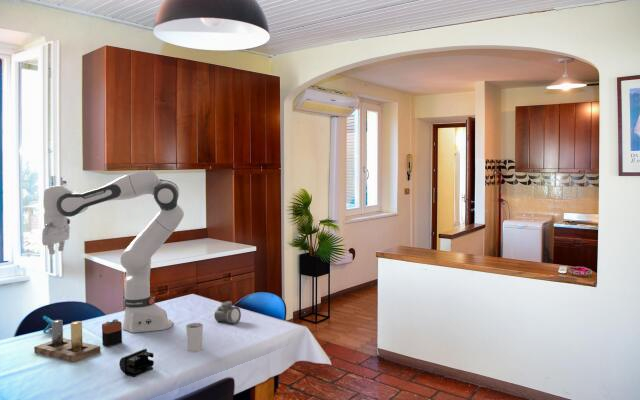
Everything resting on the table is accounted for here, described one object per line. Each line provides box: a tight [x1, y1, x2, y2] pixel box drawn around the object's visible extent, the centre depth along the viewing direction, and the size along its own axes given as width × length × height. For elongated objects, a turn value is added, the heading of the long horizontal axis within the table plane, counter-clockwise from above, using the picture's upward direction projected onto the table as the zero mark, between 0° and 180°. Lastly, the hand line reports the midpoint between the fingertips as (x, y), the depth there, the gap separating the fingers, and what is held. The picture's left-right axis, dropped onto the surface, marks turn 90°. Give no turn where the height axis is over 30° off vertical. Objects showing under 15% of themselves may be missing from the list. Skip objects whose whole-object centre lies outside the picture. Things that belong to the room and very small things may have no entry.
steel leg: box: [51, 319, 64, 348], centre depth 203 cm, size 4×4×12 cm
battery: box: [101, 318, 123, 348], centre depth 210 cm, size 4×7×10 cm, turn 142°
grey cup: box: [185, 322, 204, 353], centre depth 203 cm, size 7×7×10 cm
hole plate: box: [33, 337, 101, 363], centre depth 200 cm, size 24×12×2 cm, turn 63°
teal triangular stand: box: [42, 315, 54, 333], centre depth 228 cm, size 11×6×10 cm
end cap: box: [118, 348, 155, 378], centre depth 181 cm, size 10×7×7 cm
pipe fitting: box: [214, 300, 242, 325], centre depth 240 cm, size 12×8×10 cm
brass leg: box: [70, 320, 84, 352], centre depth 197 cm, size 4×4×13 cm
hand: (56, 252), depth 222 cm, fingers open, 8 cm apart
